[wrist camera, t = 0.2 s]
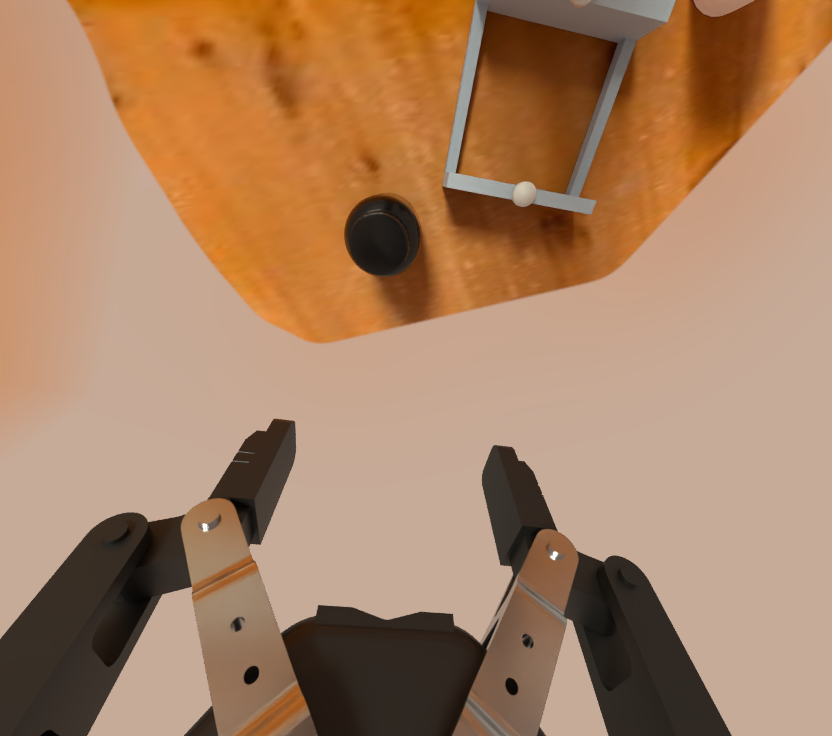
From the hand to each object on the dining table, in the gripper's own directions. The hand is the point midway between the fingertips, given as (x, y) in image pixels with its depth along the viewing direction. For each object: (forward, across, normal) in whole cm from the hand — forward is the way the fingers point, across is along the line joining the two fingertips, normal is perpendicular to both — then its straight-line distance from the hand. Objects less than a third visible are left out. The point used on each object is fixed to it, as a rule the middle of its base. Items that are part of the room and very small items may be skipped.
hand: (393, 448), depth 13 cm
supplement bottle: (+29, +2, -4) cm, 30 cm away
